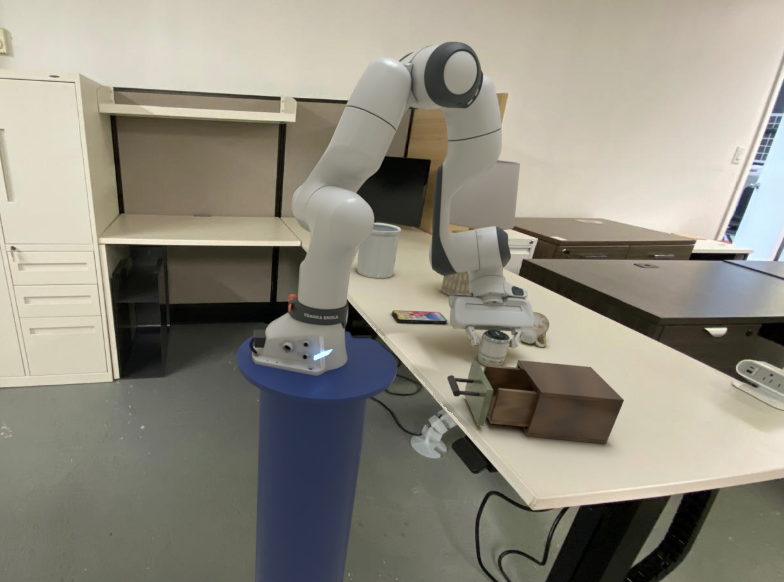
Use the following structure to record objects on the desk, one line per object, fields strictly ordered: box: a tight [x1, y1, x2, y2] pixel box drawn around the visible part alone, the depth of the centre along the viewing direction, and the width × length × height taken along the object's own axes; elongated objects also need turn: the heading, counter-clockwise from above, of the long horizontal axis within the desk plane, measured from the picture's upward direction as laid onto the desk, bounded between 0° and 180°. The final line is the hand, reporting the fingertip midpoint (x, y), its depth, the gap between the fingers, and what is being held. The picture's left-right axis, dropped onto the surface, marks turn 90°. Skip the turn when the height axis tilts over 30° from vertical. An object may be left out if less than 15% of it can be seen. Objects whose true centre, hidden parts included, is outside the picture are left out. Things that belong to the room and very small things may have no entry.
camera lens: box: [477, 330, 511, 367], centre depth 112 cm, size 6×6×8 cm
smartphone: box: [391, 309, 448, 325], centre depth 137 cm, size 7×1×15 cm
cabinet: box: [515, 359, 625, 445], centre depth 90 cm, size 15×13×10 cm
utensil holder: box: [356, 222, 402, 279], centre depth 173 cm, size 15×15×18 cm
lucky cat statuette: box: [520, 311, 550, 348], centre depth 128 cm, size 8×10×10 cm
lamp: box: [440, 159, 521, 296], centre depth 152 cm, size 25×25×44 cm
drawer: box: [446, 360, 538, 427], centre depth 90 cm, size 18×11×8 cm, turn 87°
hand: (494, 346), depth 112 cm, fingers open, 8 cm apart
